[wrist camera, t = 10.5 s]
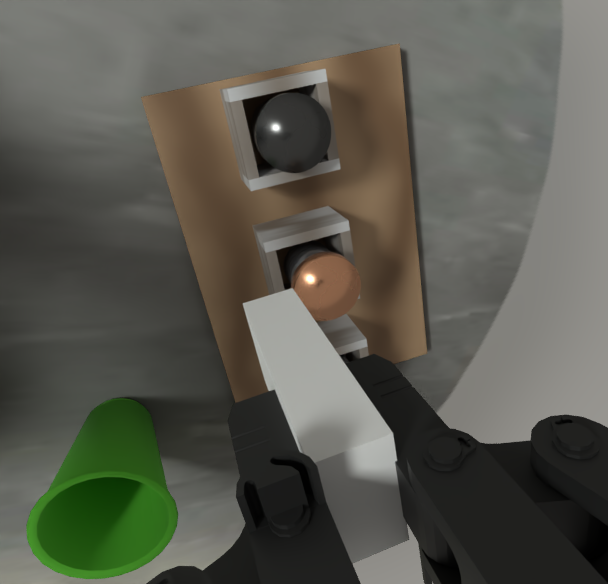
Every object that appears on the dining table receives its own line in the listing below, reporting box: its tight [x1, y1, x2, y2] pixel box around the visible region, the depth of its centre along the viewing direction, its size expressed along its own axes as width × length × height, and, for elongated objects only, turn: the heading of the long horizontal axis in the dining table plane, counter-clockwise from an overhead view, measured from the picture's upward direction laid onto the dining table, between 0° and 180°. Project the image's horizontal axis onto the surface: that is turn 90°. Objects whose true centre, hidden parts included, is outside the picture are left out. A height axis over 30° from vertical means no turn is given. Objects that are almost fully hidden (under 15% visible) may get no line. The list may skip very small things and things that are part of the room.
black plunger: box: [250, 93, 331, 173], centre depth 30 cm, size 4×4×5 cm
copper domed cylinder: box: [284, 240, 361, 321], centre depth 33 cm, size 4×4×5 cm
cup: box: [26, 398, 178, 579], centre depth 36 cm, size 9×9×11 cm
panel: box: [141, 44, 427, 403], centre depth 36 cm, size 18×26×6 cm
